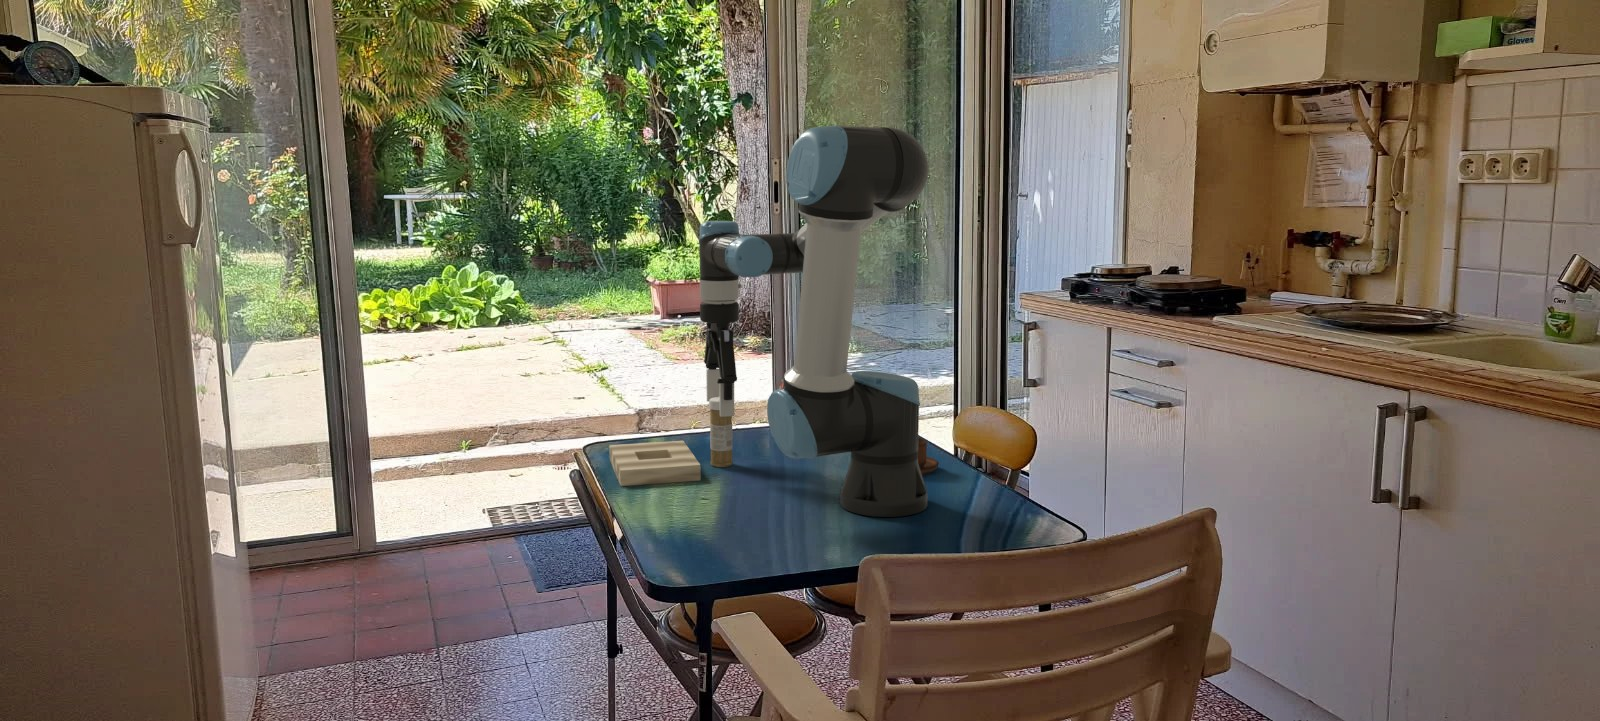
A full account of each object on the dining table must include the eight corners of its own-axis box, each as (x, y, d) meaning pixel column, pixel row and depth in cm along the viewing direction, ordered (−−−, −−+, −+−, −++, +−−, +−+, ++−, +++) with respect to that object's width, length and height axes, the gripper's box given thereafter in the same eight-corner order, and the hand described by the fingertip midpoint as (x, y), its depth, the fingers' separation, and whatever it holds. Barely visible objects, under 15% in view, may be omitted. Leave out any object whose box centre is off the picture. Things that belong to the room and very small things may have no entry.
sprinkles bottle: (722, 460, 223) (721, 395, 221) (737, 464, 220) (737, 398, 218) (705, 465, 220) (704, 398, 217) (721, 469, 216) (720, 401, 214)
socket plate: (700, 480, 209) (700, 464, 208) (620, 486, 205) (620, 470, 204) (683, 454, 228) (683, 440, 227) (609, 459, 224) (609, 445, 223)
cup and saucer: (935, 481, 208) (936, 449, 207) (872, 478, 211) (872, 446, 210) (940, 465, 220) (941, 435, 219) (880, 462, 222) (881, 432, 221)
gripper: (752, 309, 203) (752, 421, 207) (725, 293, 227) (726, 394, 231) (712, 310, 201) (713, 423, 205) (689, 294, 225) (690, 396, 229)
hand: (720, 408), depth 218 cm, fingers open, 13 cm apart
